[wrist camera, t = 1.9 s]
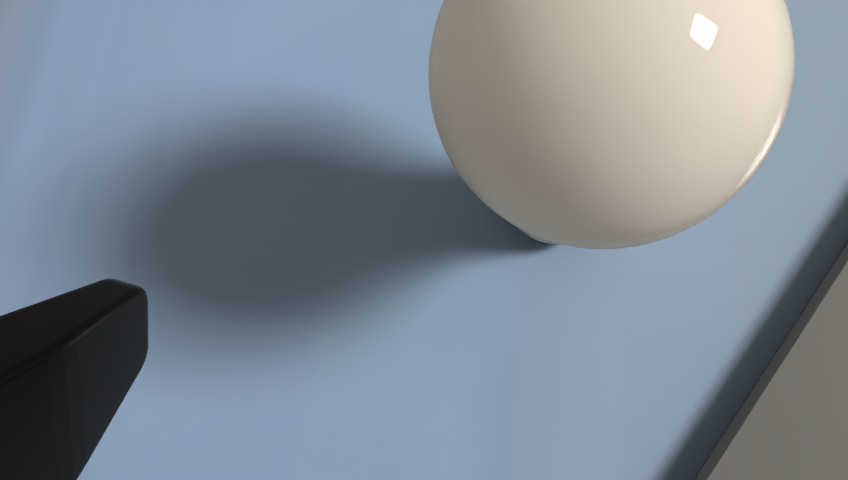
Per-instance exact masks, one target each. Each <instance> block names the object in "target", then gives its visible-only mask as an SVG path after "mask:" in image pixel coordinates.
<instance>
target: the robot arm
mask: <svg viewBox="0 0 848 480" xmlns="http://www.w3.org/2000/svg"><path fill="white" fill-rule="evenodd" d="M147 351H148V300H147V295H146V292H145V291H144V289H142V288H141V287H139V286H136V285H133V284H129V283H126V282H122V281H119V280H115V279H105V280H101V281H98V282H95V283H93V284H90V285H87V286H84V287H81V288H79V289H76V290H73V291H70V292H67V293H64V294H62V295H59V296H56V297H53V298H50V299H47V300H45V301H42V302H39V303H36V304H33V305H30V306H28V307H25V308H22V309H19V310H16V311H13V312H11V313H8V314H5V315H2V316H0V480H77V478H78V477H79V475H80V473H81V472H82V470H83V469H84V467H85V465H86V464H87V462H88V460H89V459H90V457H91V455H92V453H93V452H94V450H95V448H96V446H97V445H98V443H99V441H100V439H101V438H102V436H103V434H104V432H105V431H106V429H107V427H108V426H109V424H110V422H111V420H112V419H113V417H114V415H115V413H116V412H117V410H118V408H119V406H120V405H121V403H122V401H123V399H124V398H125V396H126V394H127V392H128V391H129V389H130V387H131V386H132V384H133V382H134V380H135V379H136V377H137V375H138V373H139V372H140V370H141V368H142V366H143V364H144V361H145V359H146V355H147Z"/></svg>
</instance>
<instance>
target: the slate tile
mask: <svg viewBox="0 0 848 480" xmlns="http://www.w3.org/2000/svg"><path fill="white" fill-rule="evenodd" d="M694 480H848V243H847V244H846V246H845V247H844V249H843V250H842V252H841V253H840V255H839V256H838V258H837V260H836V261H835V263H834V264H833V266H832V267H831V269H830V270H829V272H828V273H827V275H826V277H825V278H824V280H823V281H822V283H821V284H820V286H819V287H818V289H817V290H816V292H815V294H814V295H813V297H812V298H811V300H810V301H809V303H808V304H807V306H806V308H805V309H804V311H803V312H802V314H801V315H800V317H799V318H798V320H797V321H796V323H795V325H794V326H793V328H792V329H791V331H790V332H789V334H788V335H787V337H786V338H785V340H784V342H783V343H782V345H781V346H780V348H779V349H778V351H777V352H776V354H775V355H774V357H773V359H772V360H771V362H770V363H769V365H768V366H767V368H766V369H765V371H764V372H763V374H762V376H761V377H760V379H759V380H758V382H757V383H756V385H755V386H754V388H753V389H752V391H751V393H750V394H749V396H748V397H747V399H746V400H745V402H744V403H743V405H742V406H741V408H740V410H739V411H738V413H737V414H736V416H735V417H734V419H733V420H732V422H731V423H730V425H729V427H728V428H727V430H726V431H725V433H724V434H723V436H722V437H721V439H720V440H719V442H718V444H717V445H716V447H715V448H714V450H713V451H712V453H711V454H710V456H709V457H708V459H707V461H706V462H705V464H704V465H703V467H702V468H701V470H700V471H699V473H698V474H697V476H696V478H695V479H694Z"/></svg>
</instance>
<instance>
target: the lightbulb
mask: <svg viewBox="0 0 848 480" xmlns="http://www.w3.org/2000/svg"><path fill="white" fill-rule="evenodd" d="M794 73H795V43H794V34H793V28H792V22H791V17H790V14H789V10H788V7H787V3H786V0H444V1H443V4H442V6H441V9H440V12H439V14H438V17H437V21H436V24H435V28H434V32H433V36H432V41H431V47H430V55H429V72H428V77H429V94H430V102H431V108H432V113H433V117H434V121H435V125H436V128H437V131H438V134H439V137H440V139H441V142H442V144H443V147H444V149H445V151H446V153H447V155H448V157H449V159H450V161H451V162H452V164H453V166H454V167H455V169H456V171H457V172H458V174H459V175H460V177H461V178H462V179H463V181H464V182H465V183H466V184H467V186H468V187H469V188H470V189H471V190H472V192H473V193H474V194H475V195H476V196H477V197H478V198H479V199H480V200H481V201H482V202H483V203H484V204H485V205H487V206H488V207H489V208H490V209H491V210H492V211H494V212H495V213H496V214H498V215H499V216H500V217H502V218H503V219H505V220H506V221H508V222H509V223H511V224H513V225H514V226H516V227H518V228H519V229H520V230H521V231H522V232H523V233H525V234H526V235H528V236H529V237H531V238H533V239H535V240H538V241H540V242H544V243H549V244H562V245H567V246H572V247H579V248H588V249H618V248H627V247H634V246H640V245H644V244H649V243H652V242H656V241H659V240H662V239H665V238H668V237H671V236H673V235H676V234H678V233H680V232H682V231H685V230H687V229H689V228H691V227H693V226H694V225H696V224H698V223H700V222H701V221H703V220H704V219H706V218H708V217H709V216H711V215H712V214H713V213H715V212H716V211H718V210H719V209H720V208H721V207H723V206H724V205H725V204H726V203H728V202H729V201H730V200H731V199H732V198H733V197H734V196H735V195H736V194H737V193H738V192H739V191H740V190H741V189H742V188H743V187H744V186H745V185H746V184H747V183H748V182H749V180H750V179H751V178H752V177H753V176H754V174H755V173H756V172H757V170H758V169H759V168H760V166H761V165H762V163H763V162H764V160H765V159H766V157H767V156H768V154H769V152H770V151H771V149H772V147H773V145H774V143H775V141H776V139H777V137H778V135H779V133H780V130H781V128H782V125H783V123H784V120H785V117H786V114H787V111H788V107H789V103H790V99H791V95H792V89H793V82H794Z"/></svg>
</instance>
